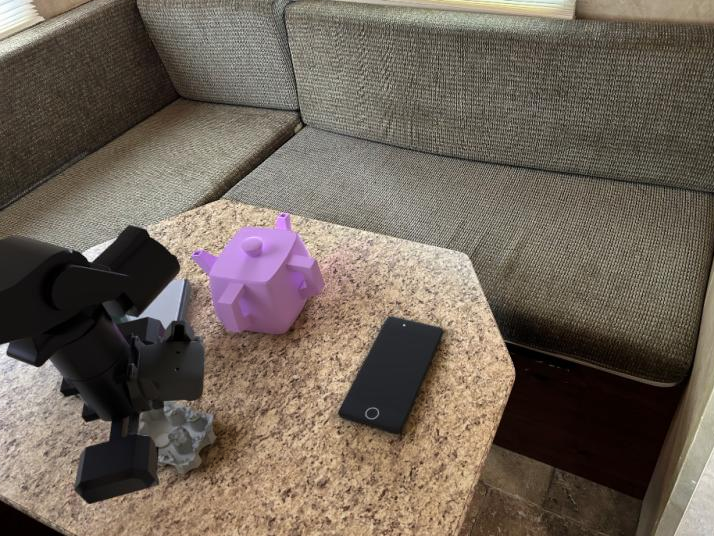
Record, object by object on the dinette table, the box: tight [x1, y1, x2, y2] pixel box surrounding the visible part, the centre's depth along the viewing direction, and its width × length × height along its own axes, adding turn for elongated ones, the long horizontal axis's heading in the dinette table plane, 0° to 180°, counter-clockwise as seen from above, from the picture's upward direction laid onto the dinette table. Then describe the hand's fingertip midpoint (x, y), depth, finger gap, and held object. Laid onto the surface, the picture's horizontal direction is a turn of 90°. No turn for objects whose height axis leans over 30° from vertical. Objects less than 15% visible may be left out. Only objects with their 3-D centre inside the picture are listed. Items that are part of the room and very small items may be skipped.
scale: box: [73, 278, 192, 398], centre depth 93 cm, size 14×20×3 cm
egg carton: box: [139, 401, 217, 475], centre depth 77 cm, size 11×8×4 cm
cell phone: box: [337, 315, 444, 435], centre depth 84 cm, size 9×18×1 cm, turn 159°
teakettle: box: [190, 212, 326, 335], centre depth 94 cm, size 17×17×12 cm
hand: (157, 444), depth 64 cm, fingers open, 9 cm apart
